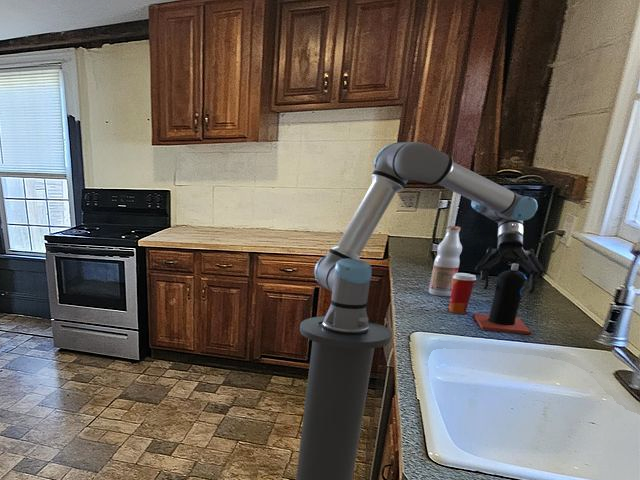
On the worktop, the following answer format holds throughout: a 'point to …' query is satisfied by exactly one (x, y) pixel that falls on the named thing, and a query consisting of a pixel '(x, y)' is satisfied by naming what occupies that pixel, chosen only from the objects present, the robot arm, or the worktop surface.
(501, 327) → the pad
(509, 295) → the aerosol can
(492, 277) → the worktop surface
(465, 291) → the paper cup
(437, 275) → the fruit juice
